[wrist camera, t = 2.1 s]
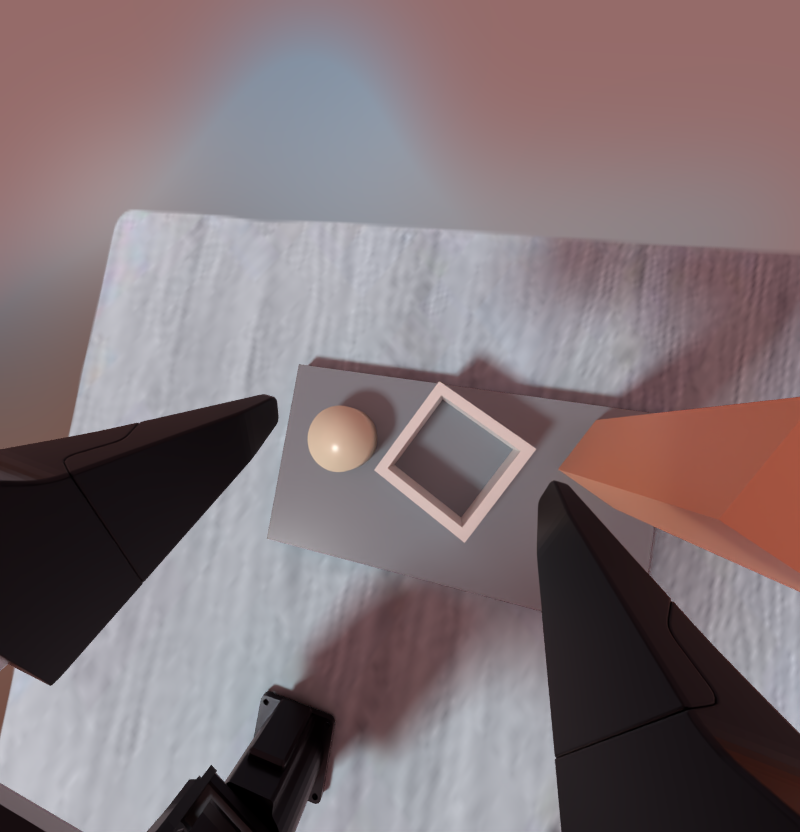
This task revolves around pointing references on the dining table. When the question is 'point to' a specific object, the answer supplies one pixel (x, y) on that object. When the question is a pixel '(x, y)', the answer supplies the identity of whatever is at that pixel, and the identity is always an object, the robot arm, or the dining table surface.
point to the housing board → (432, 479)
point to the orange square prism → (705, 478)
